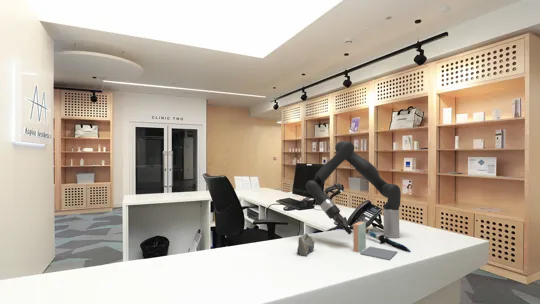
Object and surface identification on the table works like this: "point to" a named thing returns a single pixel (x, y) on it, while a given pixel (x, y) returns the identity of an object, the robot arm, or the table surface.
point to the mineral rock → (305, 245)
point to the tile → (359, 236)
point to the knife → (387, 241)
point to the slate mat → (379, 253)
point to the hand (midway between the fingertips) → (350, 233)
